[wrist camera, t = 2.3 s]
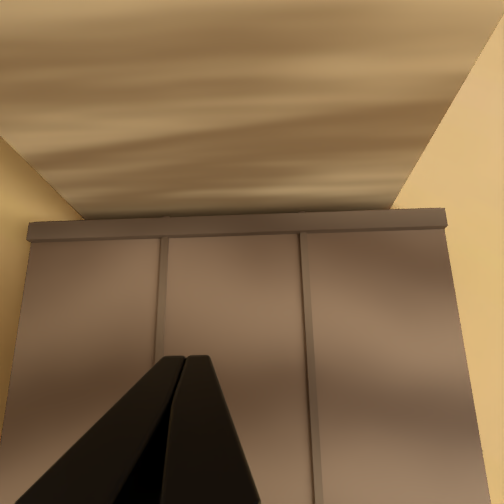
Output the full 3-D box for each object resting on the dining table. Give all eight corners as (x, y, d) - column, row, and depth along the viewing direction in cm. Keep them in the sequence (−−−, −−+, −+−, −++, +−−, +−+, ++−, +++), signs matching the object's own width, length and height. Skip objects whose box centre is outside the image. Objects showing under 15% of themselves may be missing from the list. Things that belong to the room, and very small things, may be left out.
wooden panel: (490, 637, 16) (525, 675, 14) (0, 636, 17) (-42, 672, 15) (426, 225, 21) (443, 203, 19) (54, 237, 22) (29, 218, 20)
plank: (382, 220, 22) (639, -220, 6) (95, 230, 22) (-294, -154, 7) (378, 183, 22) (601, -296, 7) (99, 193, 23) (-248, -231, 8)
